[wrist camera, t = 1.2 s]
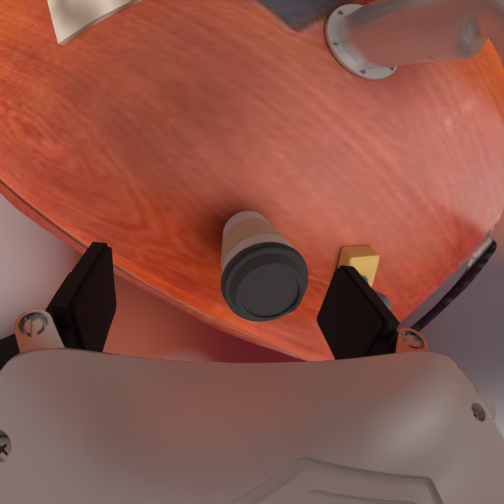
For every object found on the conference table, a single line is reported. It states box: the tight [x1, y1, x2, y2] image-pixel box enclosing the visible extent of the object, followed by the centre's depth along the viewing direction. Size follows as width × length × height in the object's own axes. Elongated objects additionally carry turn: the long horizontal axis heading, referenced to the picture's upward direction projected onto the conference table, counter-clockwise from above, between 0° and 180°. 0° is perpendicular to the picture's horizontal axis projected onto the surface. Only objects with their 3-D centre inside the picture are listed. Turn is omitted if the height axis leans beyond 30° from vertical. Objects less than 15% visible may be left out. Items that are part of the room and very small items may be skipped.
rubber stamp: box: [338, 246, 391, 310], centre depth 40 cm, size 10×6×12 cm, turn 179°
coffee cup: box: [221, 211, 308, 321], centre depth 33 cm, size 9×9×15 cm
